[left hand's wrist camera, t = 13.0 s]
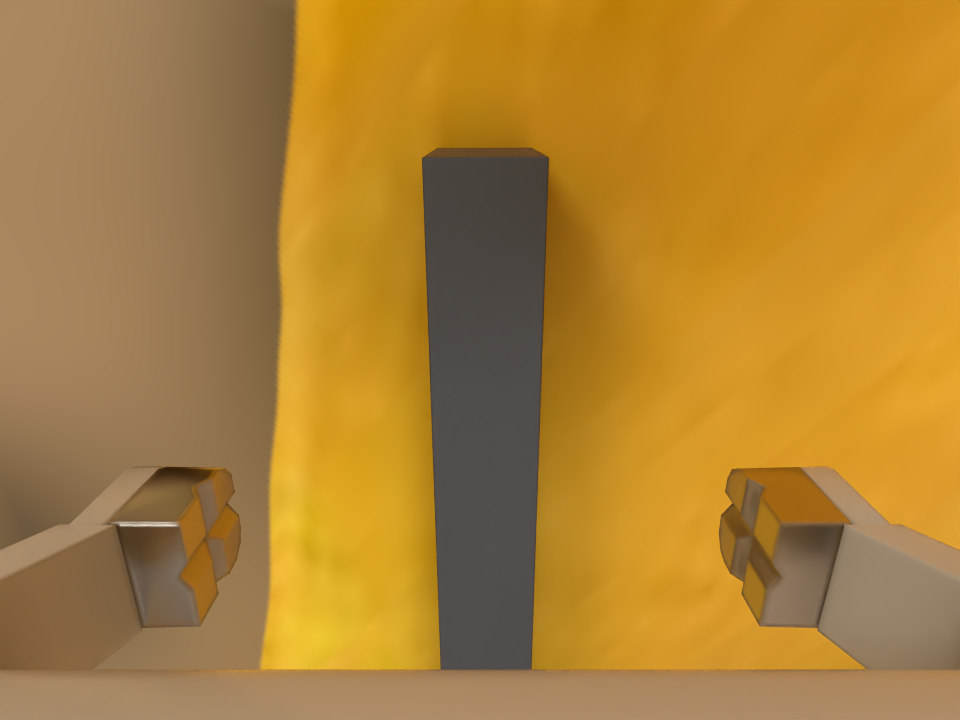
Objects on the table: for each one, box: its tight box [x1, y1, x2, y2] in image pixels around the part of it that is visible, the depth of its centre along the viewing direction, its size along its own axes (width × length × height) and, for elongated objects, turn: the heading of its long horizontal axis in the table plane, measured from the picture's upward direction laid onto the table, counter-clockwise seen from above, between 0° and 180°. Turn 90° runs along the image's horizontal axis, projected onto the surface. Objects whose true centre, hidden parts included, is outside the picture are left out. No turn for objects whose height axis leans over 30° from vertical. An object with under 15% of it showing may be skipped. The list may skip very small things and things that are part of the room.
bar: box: [422, 148, 549, 670], centre depth 35 cm, size 55×4×7 cm, turn 0°
